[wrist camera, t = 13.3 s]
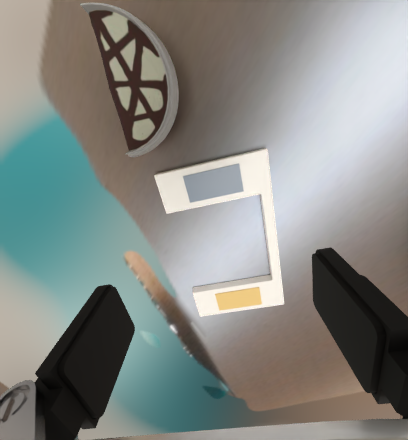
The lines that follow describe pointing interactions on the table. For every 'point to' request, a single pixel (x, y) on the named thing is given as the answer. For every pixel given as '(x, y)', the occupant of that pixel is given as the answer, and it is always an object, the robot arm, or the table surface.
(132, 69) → the food container
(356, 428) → the robot arm
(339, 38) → the table surface
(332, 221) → the table surface
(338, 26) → the table surface
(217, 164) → the label board
